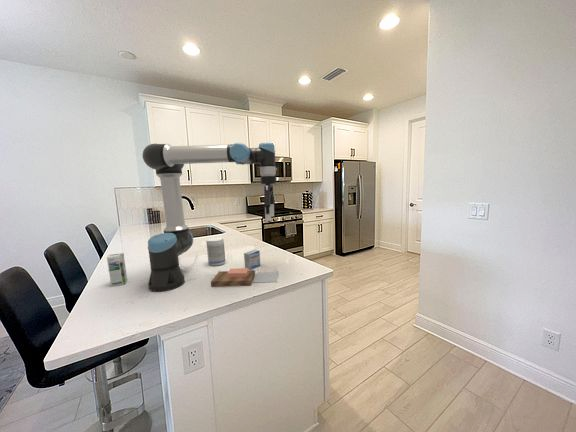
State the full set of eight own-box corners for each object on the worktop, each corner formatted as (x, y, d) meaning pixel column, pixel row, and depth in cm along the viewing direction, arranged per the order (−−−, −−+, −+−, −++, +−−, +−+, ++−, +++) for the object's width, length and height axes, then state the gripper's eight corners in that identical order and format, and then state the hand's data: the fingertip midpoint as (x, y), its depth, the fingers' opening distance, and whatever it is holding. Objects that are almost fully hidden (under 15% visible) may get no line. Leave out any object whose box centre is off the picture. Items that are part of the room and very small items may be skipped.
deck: (211, 286, 106) (210, 281, 105) (219, 276, 118) (218, 271, 117) (250, 285, 105) (250, 280, 105) (254, 275, 117) (254, 270, 117)
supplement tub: (228, 263, 136) (226, 238, 134) (213, 267, 130) (211, 242, 128) (220, 259, 143) (218, 236, 141) (205, 263, 137) (203, 239, 134)
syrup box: (110, 287, 110) (106, 257, 107) (113, 282, 115) (109, 253, 113) (125, 284, 112) (121, 255, 110) (127, 279, 117) (123, 251, 115)
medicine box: (250, 269, 125) (249, 254, 123) (244, 268, 127) (243, 252, 126) (260, 265, 131) (259, 250, 130) (255, 263, 134) (254, 249, 132)
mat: (253, 282, 108) (253, 282, 108) (256, 272, 120) (256, 272, 120) (276, 282, 108) (276, 281, 108) (278, 272, 120) (278, 271, 120)
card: (227, 277, 109) (227, 273, 109) (230, 272, 115) (230, 268, 115) (246, 277, 109) (246, 272, 109) (248, 272, 115) (248, 268, 115)
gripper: (273, 174, 102) (275, 222, 106) (278, 176, 127) (279, 214, 130) (256, 175, 103) (258, 222, 106) (264, 176, 128) (266, 215, 131)
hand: (270, 218), depth 118 cm, fingers open, 13 cm apart
